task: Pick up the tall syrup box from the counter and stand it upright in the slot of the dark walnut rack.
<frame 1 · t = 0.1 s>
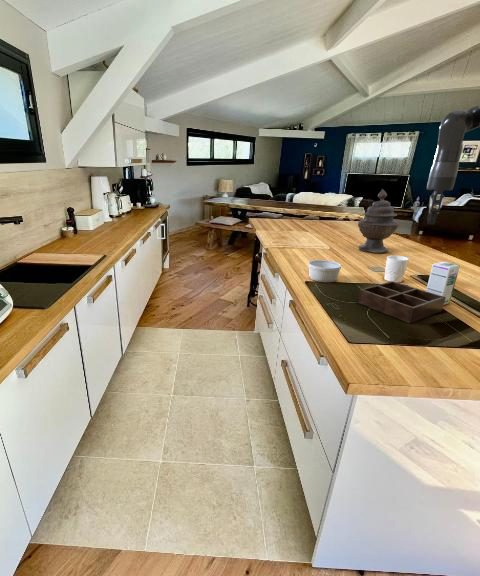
hand: (430, 222, 114), 27 cm above the table, tool pointing down, fingers open, 8 cm apart
ramekin: (322, 279, 139), on the table
syrup box: (435, 302, 114), on the table
white cup: (392, 280, 136), on the table
decorative urn: (372, 250, 184), on the table
rack: (398, 307, 110), on the table
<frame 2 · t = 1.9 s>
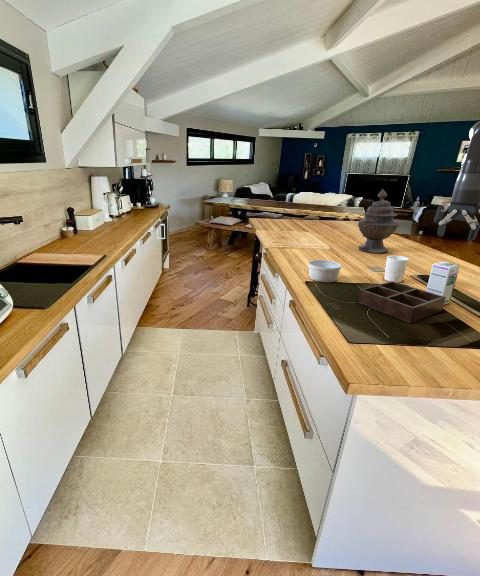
hand: (454, 238, 105), 23 cm above the table, tool pointing down, fingers open, 8 cm apart
nothing on the table moved.
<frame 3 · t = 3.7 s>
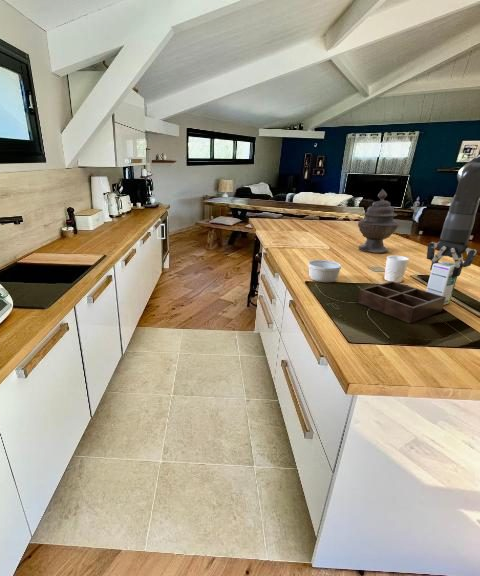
hand: (443, 274, 110), 11 cm above the table, tool pointing down, fingers closed on syrup box, 6 cm apart
syrup box: (435, 302, 114), on the table, touching gripper
everything else where it was.
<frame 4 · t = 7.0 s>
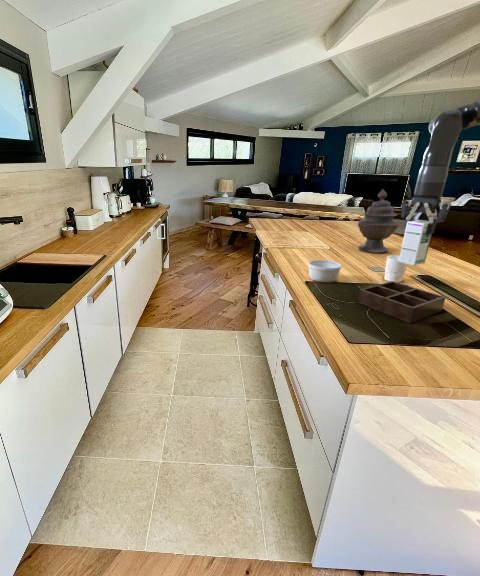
hand: (418, 232, 106), 25 cm above the table, tool pointing down, fingers closed on syrup box, 6 cm apart
syrup box: (410, 263, 110), point 14 cm above the table, touching gripper
everything else where it was.
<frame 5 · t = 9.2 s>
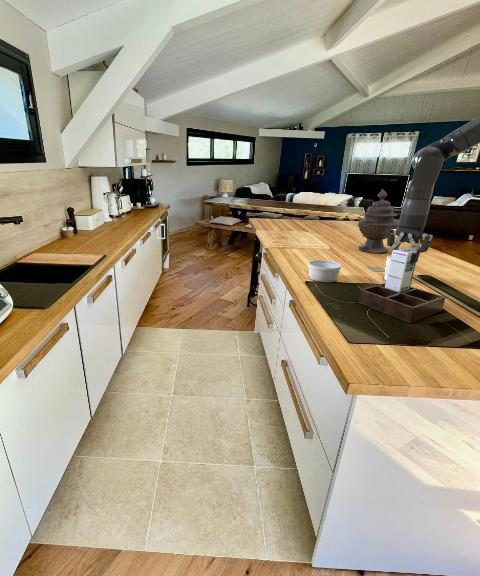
hand: (403, 260, 110), 15 cm above the table, tool pointing down, fingers closed on syrup box, 6 cm apart
syrup box: (396, 289, 114), point 4 cm above the table, touching gripper
everything else where it was.
when the fingers open (12 cm above the table, at t = 10.6 s): syrup box stays where it is, resting on rack.
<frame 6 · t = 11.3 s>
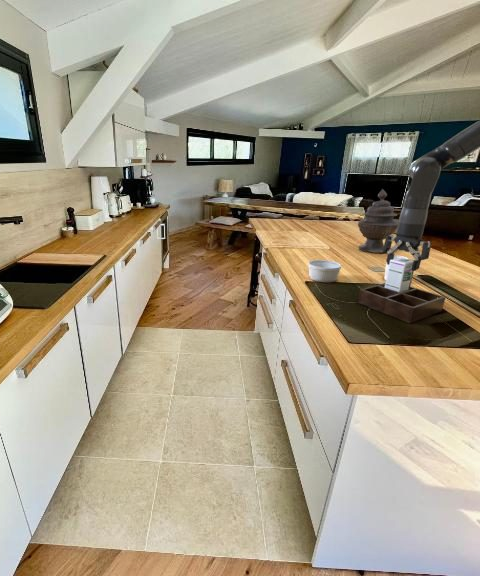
hand: (401, 267, 111), 13 cm above the table, tool pointing down, fingers open, 8 cm apart
syrup box: (394, 298, 115), point 1 cm above the table, touching rack
everything else where it was.
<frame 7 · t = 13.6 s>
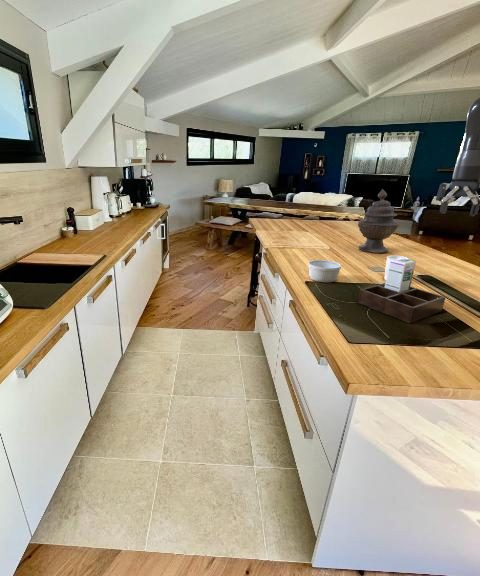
hand: (456, 214, 109), 30 cm above the table, tool pointing down, fingers open, 8 cm apart
nothing on the table moved.
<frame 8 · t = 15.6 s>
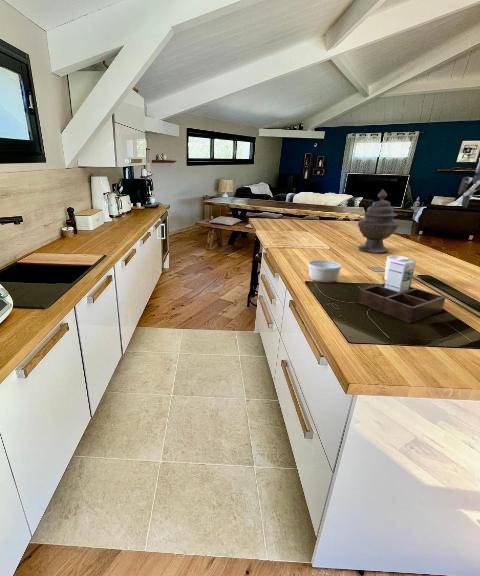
hand: (479, 208, 111), 32 cm above the table, tool pointing down, fingers open, 8 cm apart
nothing on the table moved.
at the end: syrup box 0.1 cm from the target spot in the rack, point 0.8 cm above the rack's base; syrup box tilted 0°; the gripper is holding nothing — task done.
